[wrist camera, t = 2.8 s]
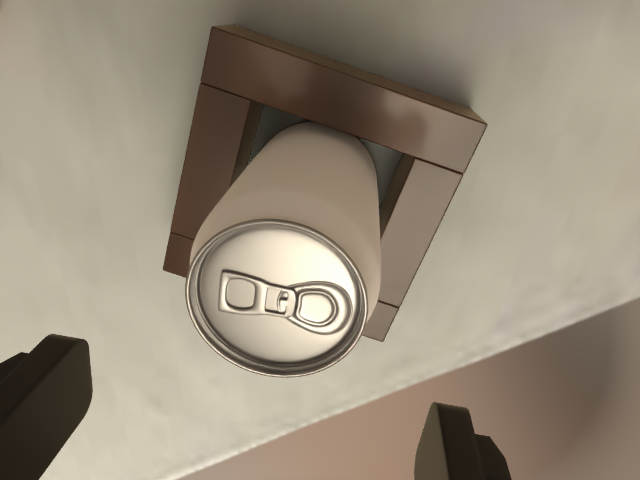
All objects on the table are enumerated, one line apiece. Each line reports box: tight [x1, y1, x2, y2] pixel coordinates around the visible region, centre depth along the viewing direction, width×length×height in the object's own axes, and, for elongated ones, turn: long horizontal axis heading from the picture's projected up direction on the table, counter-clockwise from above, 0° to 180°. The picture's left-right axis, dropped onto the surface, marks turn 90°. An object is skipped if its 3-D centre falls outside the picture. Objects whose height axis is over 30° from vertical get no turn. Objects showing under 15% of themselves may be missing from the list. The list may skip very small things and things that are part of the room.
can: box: [185, 122, 381, 377], centre depth 20 cm, size 6×6×12 cm
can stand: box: [163, 25, 487, 342], centre depth 24 cm, size 12×12×4 cm
